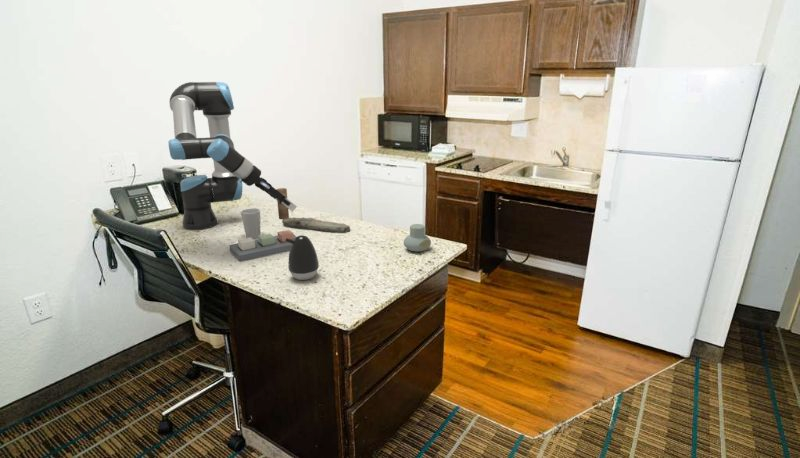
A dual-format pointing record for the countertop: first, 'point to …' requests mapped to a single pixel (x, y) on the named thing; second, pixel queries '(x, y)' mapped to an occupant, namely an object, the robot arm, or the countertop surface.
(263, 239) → the key mid
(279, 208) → the wooden pepper mill
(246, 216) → the cup
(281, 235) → the key far
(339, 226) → the long grey stone
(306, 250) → the black rounded cone
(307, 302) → the countertop surface
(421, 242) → the air freshener
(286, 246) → the keypad
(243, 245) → the key near
